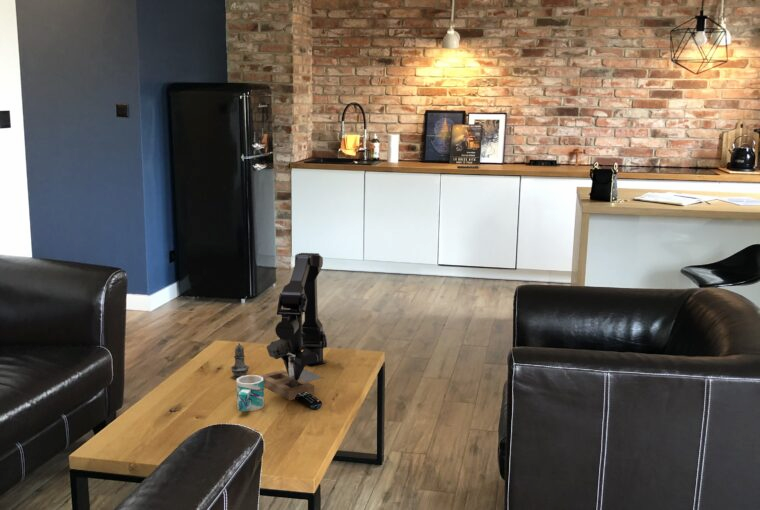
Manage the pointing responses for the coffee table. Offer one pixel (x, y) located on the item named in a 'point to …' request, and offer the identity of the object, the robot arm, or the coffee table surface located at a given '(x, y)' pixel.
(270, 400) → the coffee table surface
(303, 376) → the mat
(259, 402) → the mug
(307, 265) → the robot arm
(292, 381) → the pin
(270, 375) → the socket block
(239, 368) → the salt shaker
